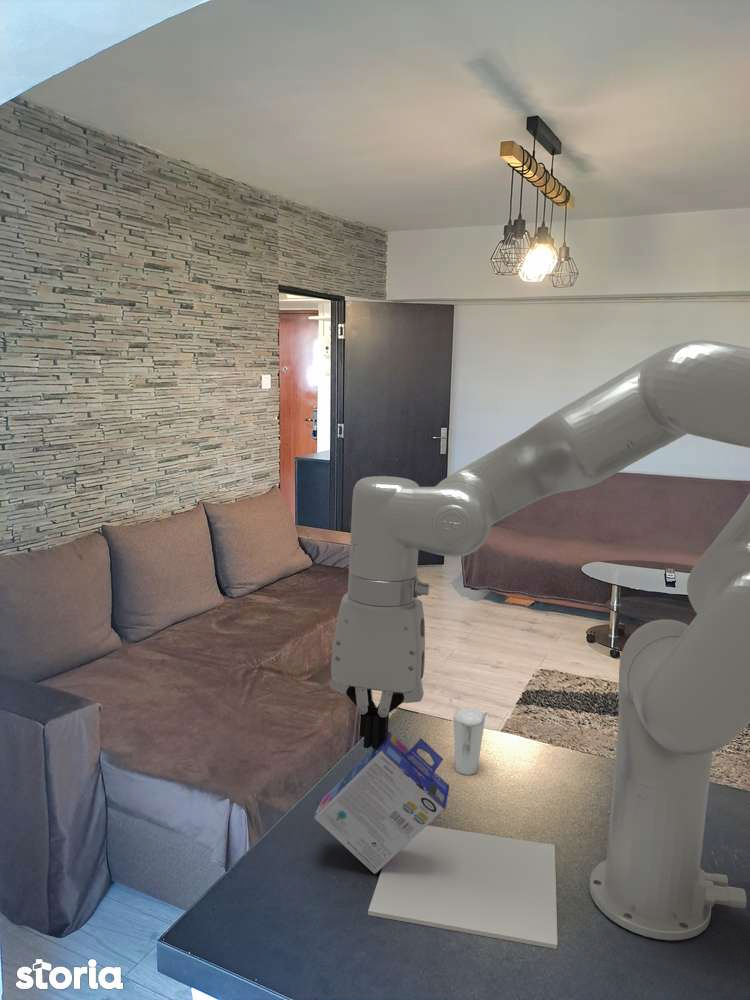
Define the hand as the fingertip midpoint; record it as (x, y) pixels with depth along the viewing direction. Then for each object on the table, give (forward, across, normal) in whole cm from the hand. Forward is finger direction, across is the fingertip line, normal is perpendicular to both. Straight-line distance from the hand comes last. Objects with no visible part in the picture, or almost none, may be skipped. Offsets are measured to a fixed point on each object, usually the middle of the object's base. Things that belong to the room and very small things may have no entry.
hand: (373, 743), depth 87 cm
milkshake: (+15, -10, -24) cm, 30 cm away
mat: (+14, -12, 0) cm, 19 cm away
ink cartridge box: (+12, +2, 0) cm, 12 cm away
